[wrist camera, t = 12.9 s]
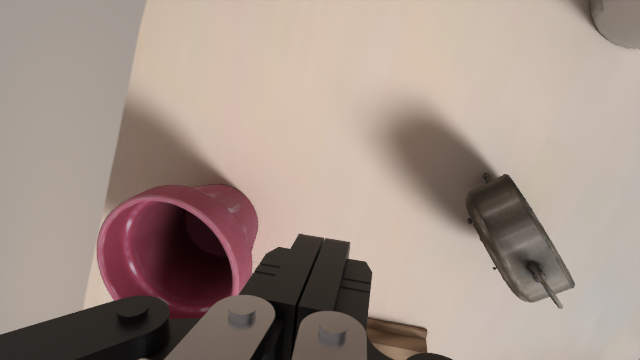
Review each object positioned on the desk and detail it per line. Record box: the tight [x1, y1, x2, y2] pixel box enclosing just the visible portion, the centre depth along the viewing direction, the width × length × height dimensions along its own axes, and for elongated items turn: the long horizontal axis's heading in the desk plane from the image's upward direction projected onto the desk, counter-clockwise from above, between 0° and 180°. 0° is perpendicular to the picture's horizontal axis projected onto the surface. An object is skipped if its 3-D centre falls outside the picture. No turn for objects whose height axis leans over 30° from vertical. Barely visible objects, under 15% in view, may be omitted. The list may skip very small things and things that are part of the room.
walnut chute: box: [366, 318, 427, 360], centre depth 48 cm, size 25×9×6 cm, turn 84°
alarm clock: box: [466, 173, 575, 309], centre depth 35 cm, size 11×5×16 cm, turn 33°
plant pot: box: [97, 184, 258, 319], centre depth 42 cm, size 14×14×13 cm
